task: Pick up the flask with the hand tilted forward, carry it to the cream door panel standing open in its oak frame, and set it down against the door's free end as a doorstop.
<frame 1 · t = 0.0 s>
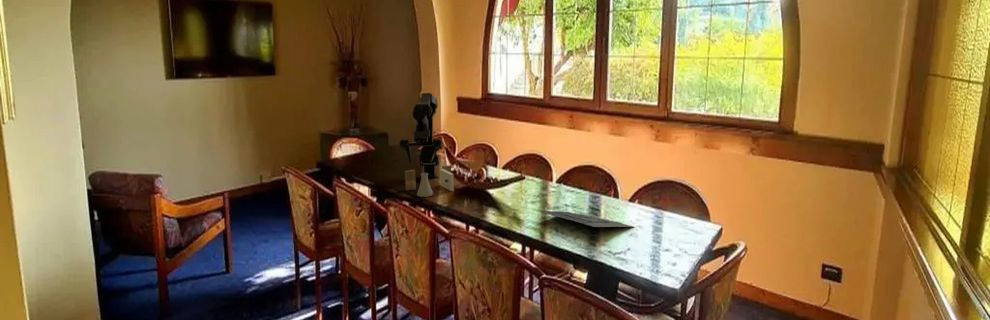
hand: (420, 162, 274), 15 cm above the table, tool tilted 35°, fingers open, 9 cm apart
flask: (425, 195, 277), on the table
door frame: (441, 185, 293), on the table
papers: (582, 226, 235), on the table
door: (445, 179, 286), point 4 cm above the table, hinge at 0.0°
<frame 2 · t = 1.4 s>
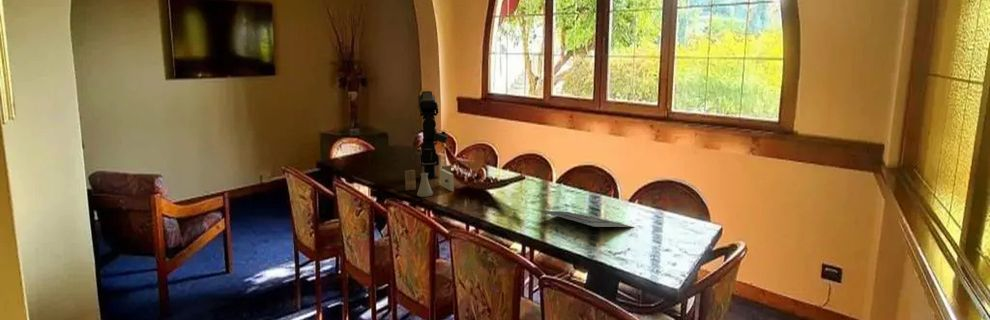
hand: (430, 160, 285), 13 cm above the table, tool pointing down, fingers open, 9 cm apart
nothing on the table moved.
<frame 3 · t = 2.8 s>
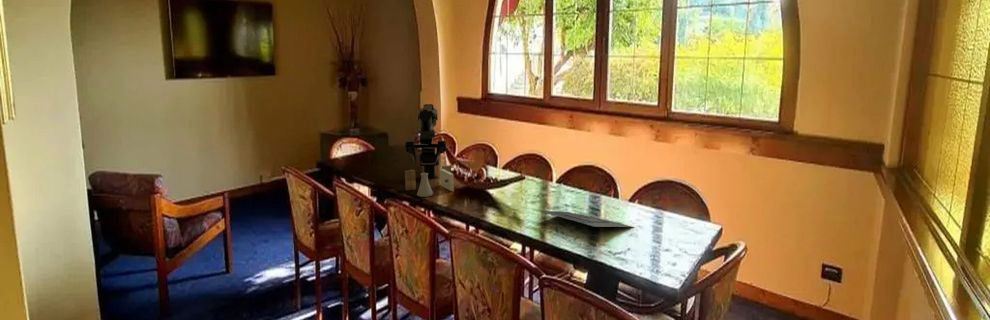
hand: (425, 162, 281), 13 cm above the table, tool tilted 45°, fingers open, 9 cm apart
nothing on the table moved.
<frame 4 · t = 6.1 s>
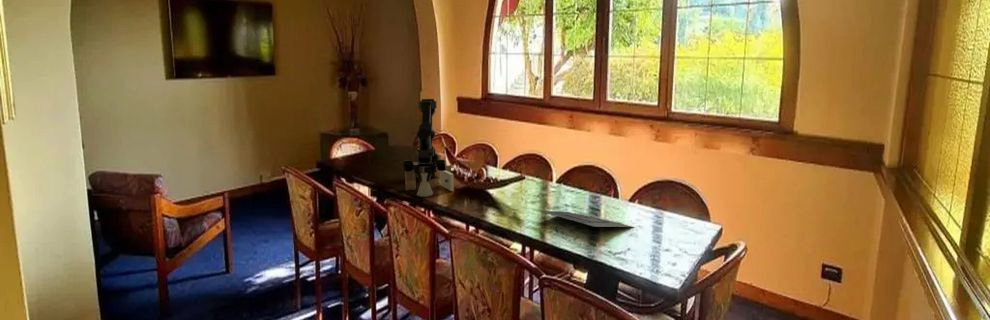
hand: (424, 181, 274), 7 cm above the table, tool tilted 45°, fingers closed on flask, 3 cm apart
flask: (425, 195, 277), on the table, touching gripper
everything else where it was.
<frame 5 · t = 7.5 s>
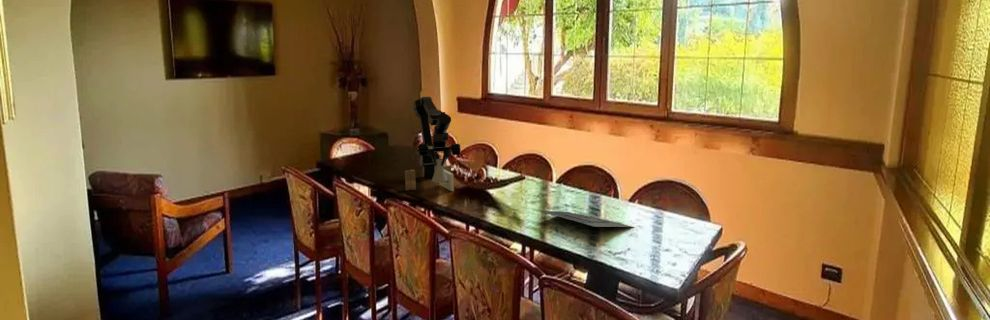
hand: (438, 165, 274), 13 cm above the table, tool tilted 45°, fingers closed on flask, 3 cm apart
flask: (439, 181, 277), point 6 cm above the table, touching gripper
everything else where it was.
when the fingers open (8 cm above the table, at t = 9.2 s): flask stays where it is, on the table.
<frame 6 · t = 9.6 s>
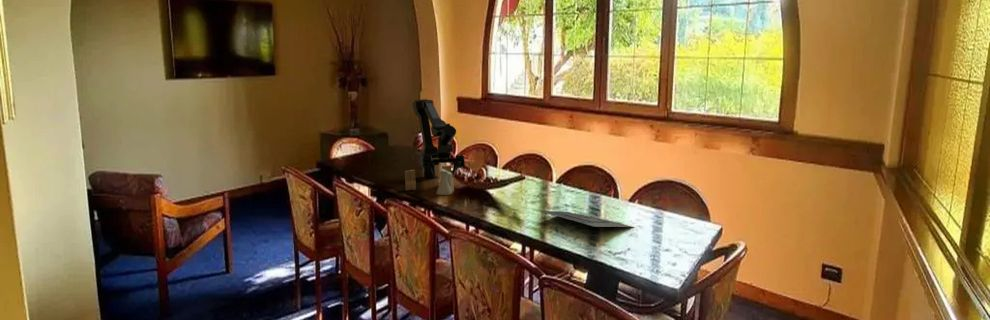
hand: (443, 177, 275), 8 cm above the table, tool tilted 45°, fingers open, 8 cm apart
flask: (444, 194, 279), on the table
everything else where it was.
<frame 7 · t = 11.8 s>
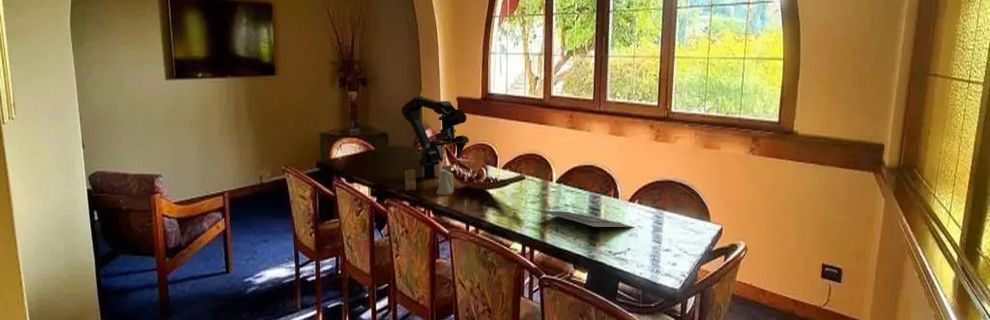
hand: (449, 160, 288), 13 cm above the table, tool tilted 25°, fingers open, 9 cm apart
nothing on the table moved.
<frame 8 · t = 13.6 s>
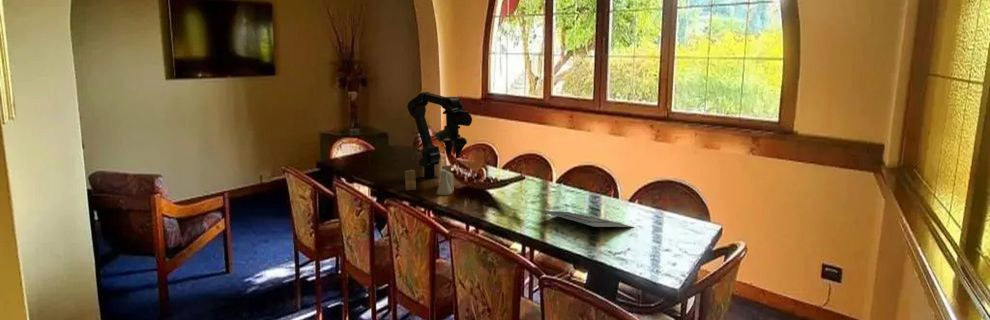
hand: (453, 156, 294), 13 cm above the table, tool pointing down, fingers open, 9 cm apart
nothing on the table moved.
at the end: flask inside the target area on the table beside the door (0.6 cm from its centre), on the table; flask tilted 0°; door at +0° (first picture: +0°) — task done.
